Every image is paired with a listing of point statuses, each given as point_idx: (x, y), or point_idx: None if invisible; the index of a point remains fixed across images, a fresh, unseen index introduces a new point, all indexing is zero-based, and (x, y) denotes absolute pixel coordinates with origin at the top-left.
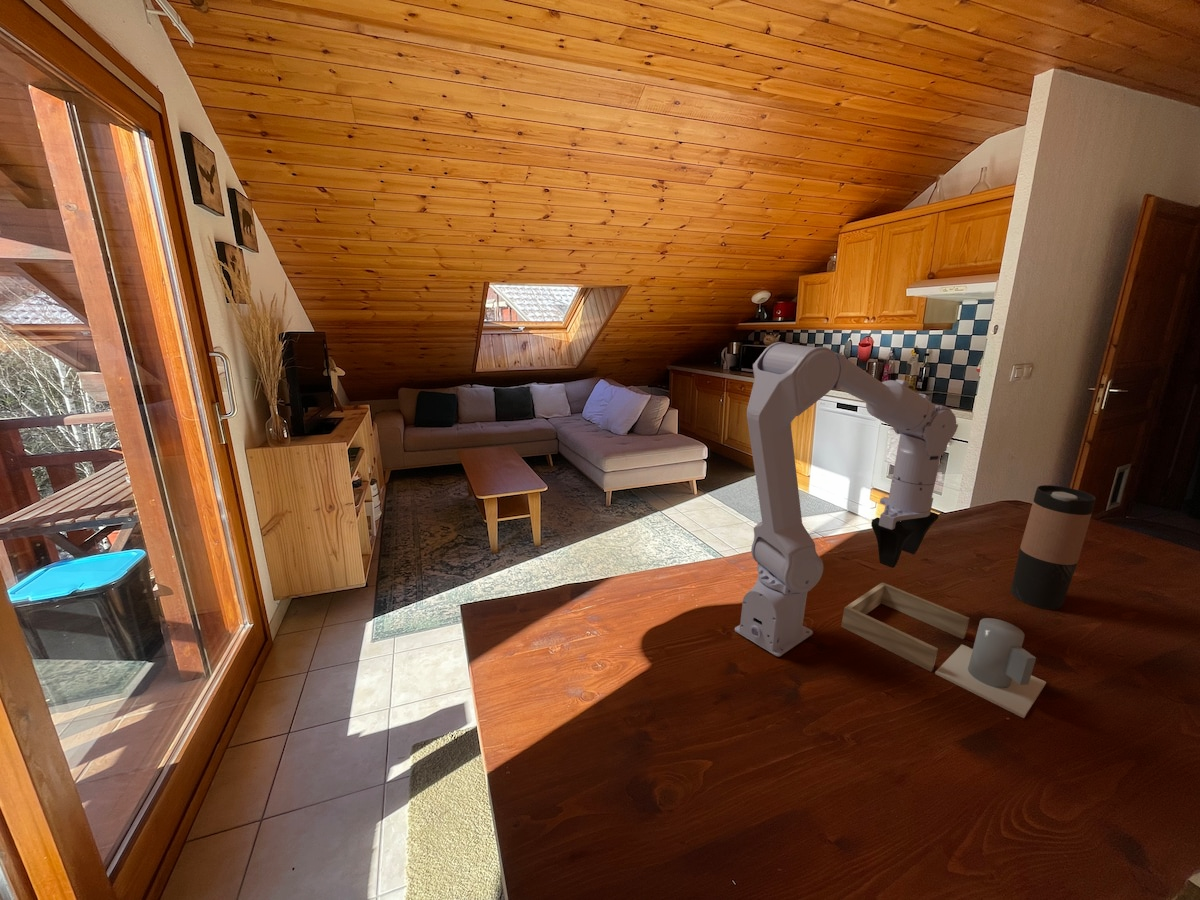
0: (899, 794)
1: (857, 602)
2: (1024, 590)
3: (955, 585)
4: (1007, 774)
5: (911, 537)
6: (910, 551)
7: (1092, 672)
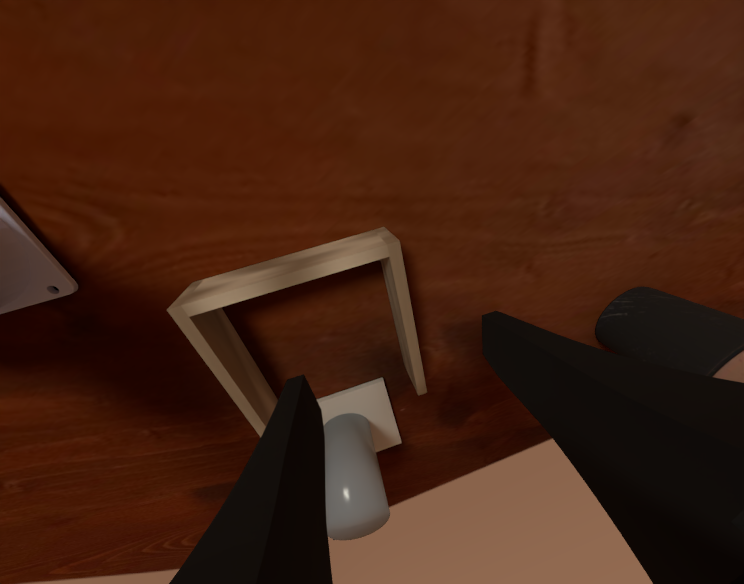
0: (46, 533)
1: (229, 301)
2: (621, 328)
3: (585, 242)
4: (213, 514)
5: (535, 389)
6: (487, 348)
7: (473, 430)
